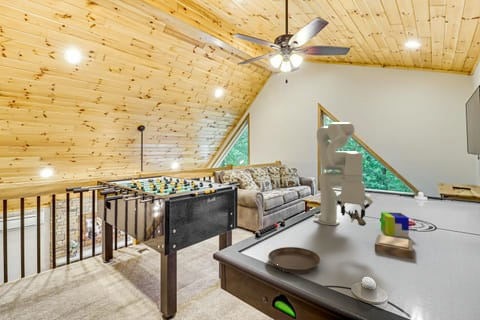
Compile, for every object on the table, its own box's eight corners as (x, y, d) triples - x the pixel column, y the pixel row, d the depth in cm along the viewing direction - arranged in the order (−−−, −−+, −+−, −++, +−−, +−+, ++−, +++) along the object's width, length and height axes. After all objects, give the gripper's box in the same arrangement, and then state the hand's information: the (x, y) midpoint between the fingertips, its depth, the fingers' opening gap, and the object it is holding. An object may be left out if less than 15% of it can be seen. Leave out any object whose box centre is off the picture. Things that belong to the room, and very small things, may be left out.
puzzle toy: (408, 236, 129) (408, 217, 129) (387, 235, 131) (387, 217, 131) (400, 230, 139) (400, 213, 138) (380, 229, 141) (381, 212, 140)
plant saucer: (257, 264, 101) (257, 256, 100) (287, 249, 115) (287, 242, 115) (302, 284, 86) (302, 274, 86) (329, 264, 100) (329, 256, 100)
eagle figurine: (340, 217, 117) (352, 220, 108) (346, 204, 118) (359, 206, 109) (353, 225, 117) (366, 229, 109) (359, 212, 119) (372, 214, 110)
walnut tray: (374, 251, 111) (374, 242, 111) (377, 241, 123) (378, 233, 123) (412, 259, 103) (412, 249, 103) (412, 247, 115) (412, 239, 115)
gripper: (331, 178, 116) (331, 215, 117) (373, 181, 106) (372, 221, 107) (335, 176, 122) (335, 211, 123) (375, 179, 112) (374, 217, 113)
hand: (352, 216), depth 115 cm, fingers closed on eagle figurine, 7 cm apart
